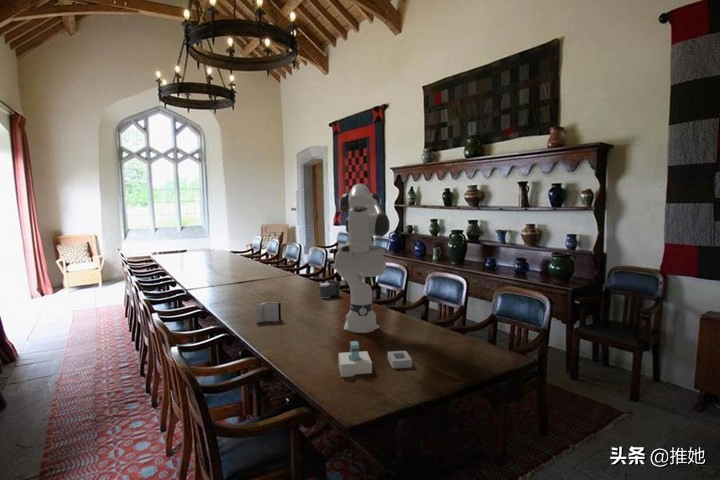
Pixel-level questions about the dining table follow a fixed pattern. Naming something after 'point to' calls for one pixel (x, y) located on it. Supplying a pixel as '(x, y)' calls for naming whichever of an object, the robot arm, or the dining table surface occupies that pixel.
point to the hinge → (268, 312)
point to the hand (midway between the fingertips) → (359, 279)
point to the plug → (354, 351)
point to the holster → (399, 359)
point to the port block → (354, 364)
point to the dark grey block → (329, 289)
